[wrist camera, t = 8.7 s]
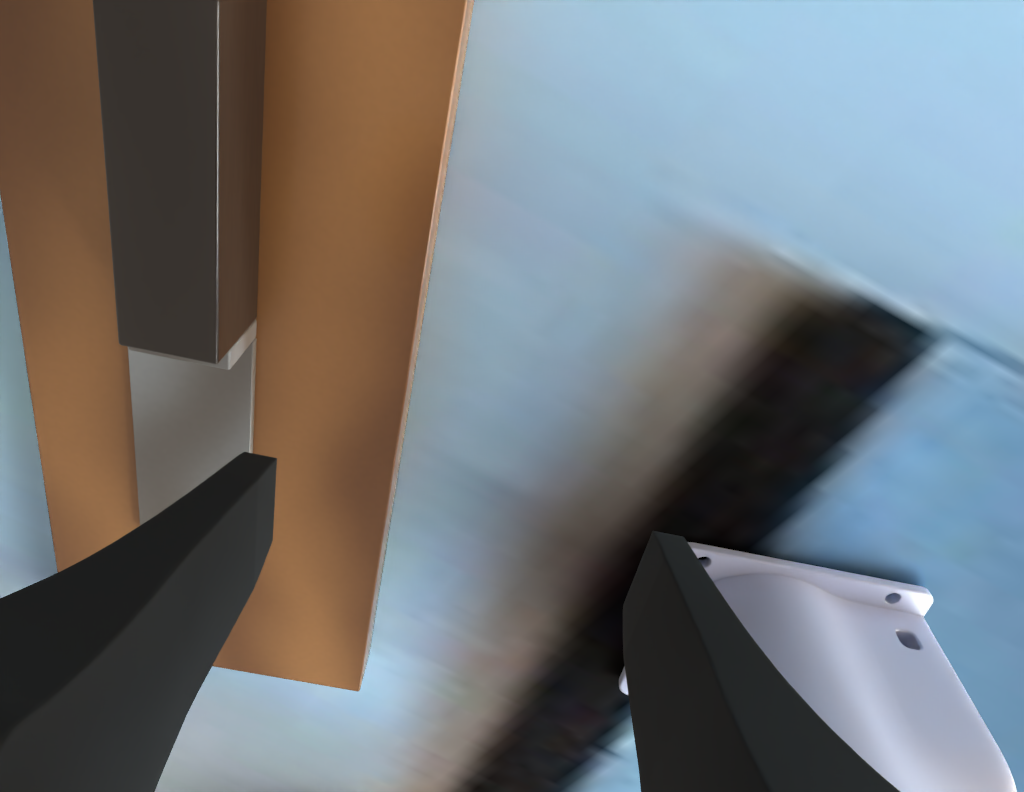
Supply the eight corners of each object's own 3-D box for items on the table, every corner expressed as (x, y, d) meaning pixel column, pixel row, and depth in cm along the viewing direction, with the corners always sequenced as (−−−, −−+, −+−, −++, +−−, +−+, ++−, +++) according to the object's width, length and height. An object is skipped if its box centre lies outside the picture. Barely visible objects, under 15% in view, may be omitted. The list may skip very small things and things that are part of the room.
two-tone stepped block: (268, -6, 16) (218, -3, 14) (250, 547, 24) (217, 611, 22) (107, -44, 16) (27, -47, 13) (144, 528, 24) (99, 590, 22)
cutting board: (492, -109, 16) (486, -118, 15) (369, 654, 29) (359, 692, 28) (-9, -235, 16) (-70, -257, 14) (93, 605, 29) (67, 641, 27)
